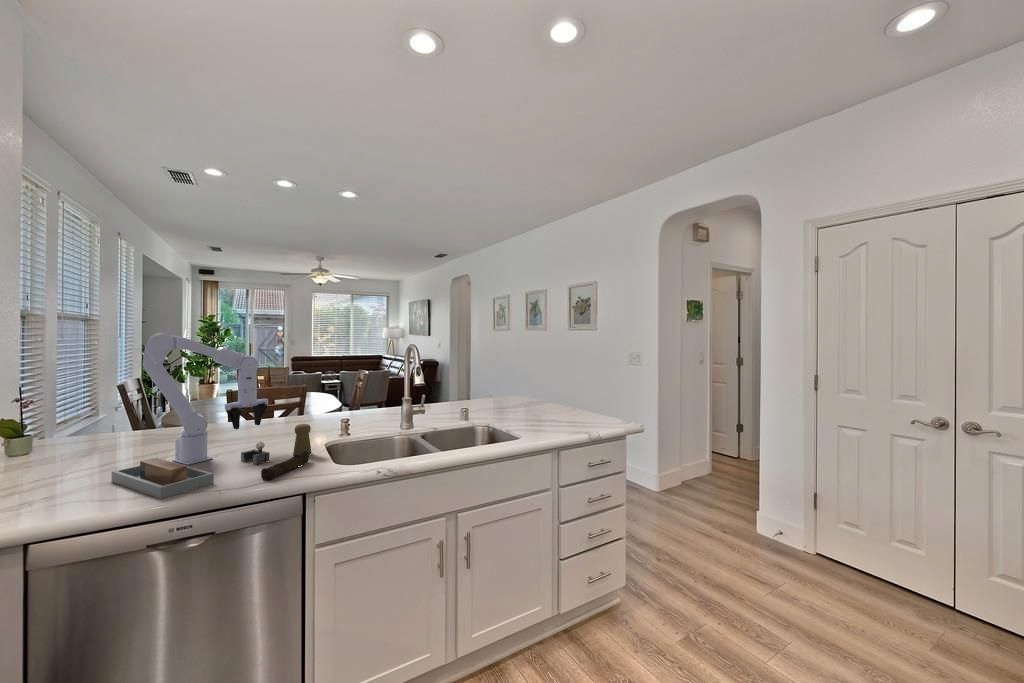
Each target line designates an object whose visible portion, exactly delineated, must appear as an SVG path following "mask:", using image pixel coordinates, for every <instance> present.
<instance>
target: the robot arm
mask: <svg viewBox="0 0 1024 683" xmlns="http://www.w3.org/2000/svg"><path fill="white" fill-rule="evenodd" d="M172 350H174V351H181V350H182V351H183V350H187V351H190V352H194V353H197V354H200V355H204V356H207V357H210V358H212V359H213V361H214V363H217V364H220V365H222V366H226V367H229V368H233V369H238V377H237V401H234V402H230V403H224V410H225V412H226V414H227V415H228V418H229V419H230V422H231V423H232V427H233V430H239V429H240V419H241V414H242V410H240V408H241V409H242V408H248V407H252V409H253V414H254V415H253V416H254V418H253V420H254V421H253V423H254V426H261V423H262V419H263V416H264V415H265V412H266V411H267V409H268V405H269V398H260V399H259V398H257V390H258V388H257V386H258V381H257V380H258V377H257V376H258V375H257V370H258V368H259V367H260V366H259V365H260V364H259V362H258V360H257V359H256V357H254V356H251V355H249V354H246V352H239V351H236V350H233V349H232V347H229V346H226V347H225V346H221V347H218V348H215V347H212V346H209V345H206V344H203V343H200V342H197V341H194V340H192V339H189V338H186V337H183V336H177V335H169V334H168V333H163V332H157V333H154V334H153V335H151V336H149V339H147V342H146V344H145V345H144V352H143V359H142V368H143V369H144V370H145V372H146V373H147V375H148V376H149V378H150V379H151V380H152V382H153V383H154V384H155V386H156V387H157V388H158V390H159V391H160V393H161V394H162V395H163V396H164V398H165V399H166V400H167V402H168V403H169V405H170V406H171V407H172V409H173V410H174V411H175V413H176V414H177V416H178V417H179V419H180V421H181V425H182V428H183V431H182V432H181V433H180V434H179V435H178V436H177V437H176V439H175V451H174V452H175V455H174V456H175V458H172V459H171V462H175V463H179V464H182V465H186V466H189V465H193V464H197V463H200V462H205V461H210V460H213V459H214V457H213V456H210V455H208V430H207V428H208V421H207V420H206V418H205V416H204V415H203V414H202V413H200V412H198V411H197V410H196V409H194V407H193V405H192V404H191V402H189V400H188V399H187V397H186V396H185V394H184V393H183V392H182V391H181V389H180V387H179V386H178V385H177V383H176V381H175V380H174V379H173V377H172V376H171V375H170V374H169V372H168V371H167V369H166V368H165V367H164V365H163V364H164V362H165V359H166V358H167V355H168V354H169V353H170V352H171V351H172Z"/></svg>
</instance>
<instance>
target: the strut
mask: <svg viewBox="0 0 1024 683" xmlns="http://www.w3.org/2000/svg"><path fill="white" fill-rule="evenodd" d="M181 464H182V463H179V462H175V461H171V462H170V460H167V459H163V458H159V457H154V458H148V459H144V460H139V465H140V478H141V479H144V480H147V481H150V482H153V483H156V484H160V485H163V486H164V485H168V484H172V483H175V482H179V481H183V480H187V466H188V465H186V464H182V465H181Z"/></svg>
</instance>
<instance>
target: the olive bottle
mask: <svg viewBox="0 0 1024 683" xmlns="http://www.w3.org/2000/svg"><path fill="white" fill-rule="evenodd" d="M311 429H312V427H311V425H310V424H307V423H300V424H297V425H295V427H294V434H295V439H294V440H295V441H294V445H293V446H294V447H293V453H292V457H293V456H294V454H296V453H299V452H301V451H307V452H308V454H309V455H310V454H311V453H312V447H311V439H310V432H311ZM311 455H312V454H311ZM311 455H310V456H311Z"/></svg>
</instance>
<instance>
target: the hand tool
mask: <svg viewBox="0 0 1024 683" xmlns="http://www.w3.org/2000/svg"><path fill="white" fill-rule="evenodd" d="M308 461H310V456H309V454H308V452H307V451H301V452H299V453H296V454H294V457H293V456H292V457H291V458H288V459H286V460H284V461H281V462H279V463H276V464H274V465H271V466H268V467H265V468H262V469H261V472H260V475H261V476H260V477H261V480H263V481H272V480H273V479H276V477H278V476H279V475H283V474H284V473H287V472H290V471H291V470H294V469H296V468H299V467H298V466H301V465H304V464H305V463H307V462H308ZM308 463H309V462H308ZM308 463H307V464H308ZM305 465H306V464H305ZM305 465H304V466H305Z"/></svg>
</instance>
